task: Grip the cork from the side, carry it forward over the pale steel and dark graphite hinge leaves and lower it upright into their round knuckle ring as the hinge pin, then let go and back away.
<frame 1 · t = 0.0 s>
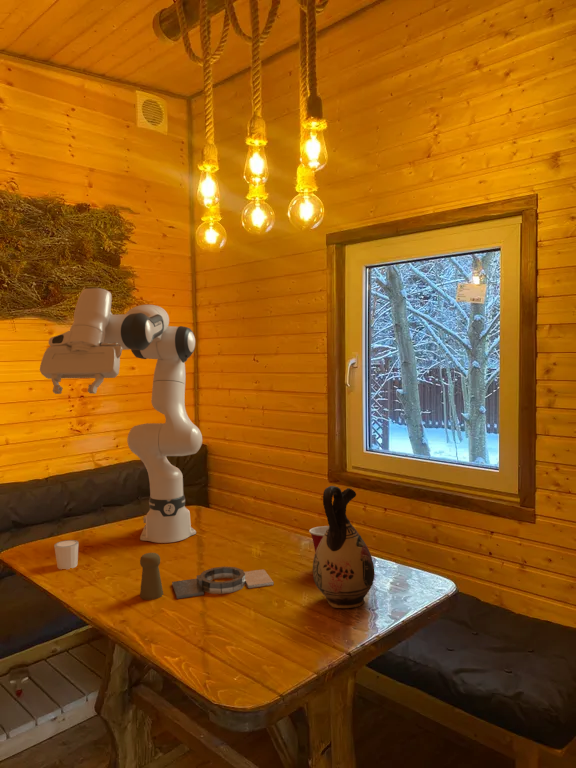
hand: (74, 392, 153), 54 cm above the table, tool tilted 30°, fingers open, 8 cm apart
ceramic jug: (342, 603, 155), on the table
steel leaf: (222, 584, 169), on the table
plastic cup: (328, 570, 178), on the table
cork: (151, 595, 163), on the table
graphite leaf: (209, 581, 167), in the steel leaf
shot glass: (67, 566, 186), on the table
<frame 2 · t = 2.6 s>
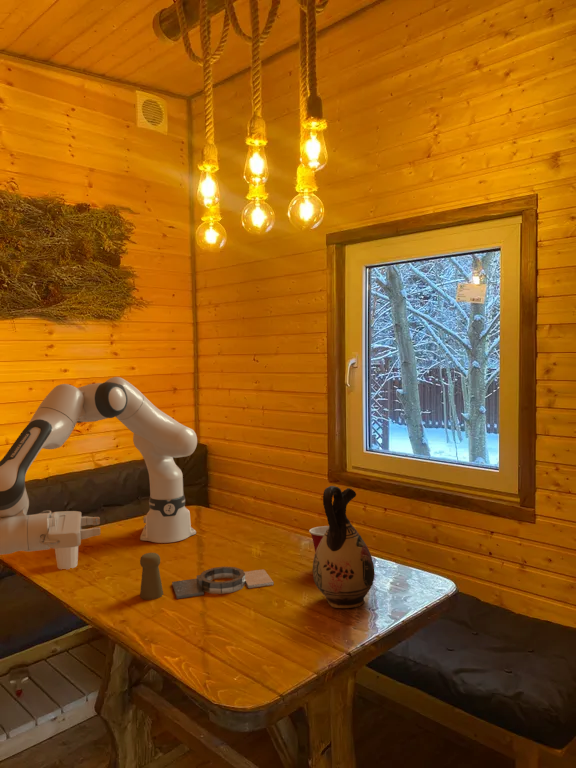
hand: (100, 525, 158), 20 cm above the table, tool horizontal, fingers open, 8 cm apart
nothing on the table moved.
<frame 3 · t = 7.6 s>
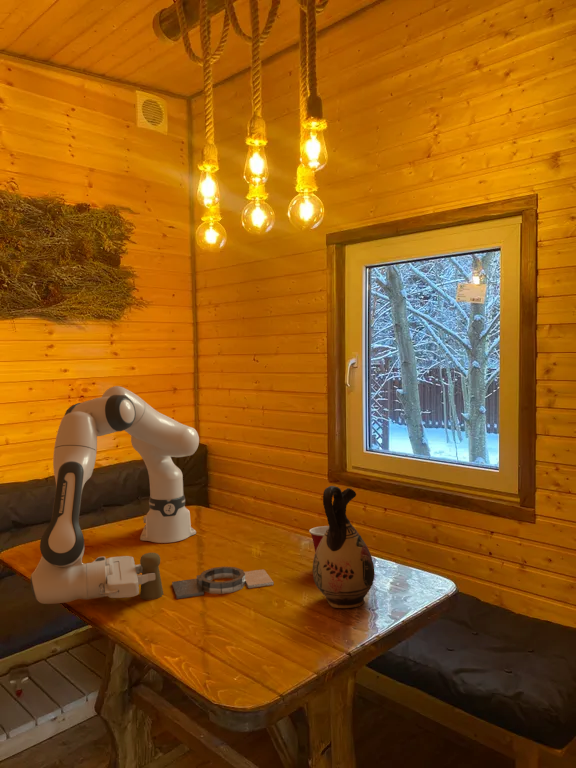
hand: (154, 572, 163), 6 cm above the table, tool horizontal, fingers closed on cork, 4 cm apart
cork: (151, 595, 163), on the table, touching gripper
everything else where it was.
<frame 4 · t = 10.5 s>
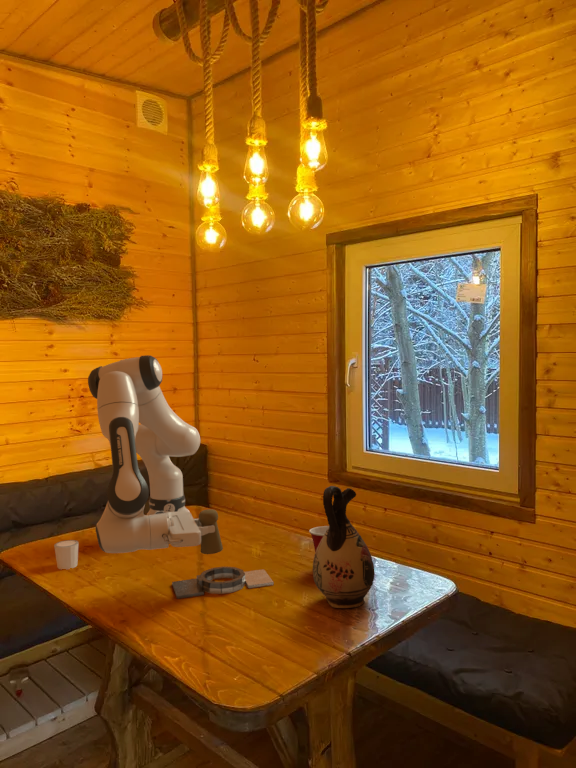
hand: (212, 525, 167), 17 cm above the table, tool horizontal, fingers closed on cork, 4 cm apart
cork: (211, 550, 167), point 10 cm above the table, touching gripper
everything else where it was.
when the fingers open (7 cm above the table, at t = 13.5 s): cork moves 2 cm, resting on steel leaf.
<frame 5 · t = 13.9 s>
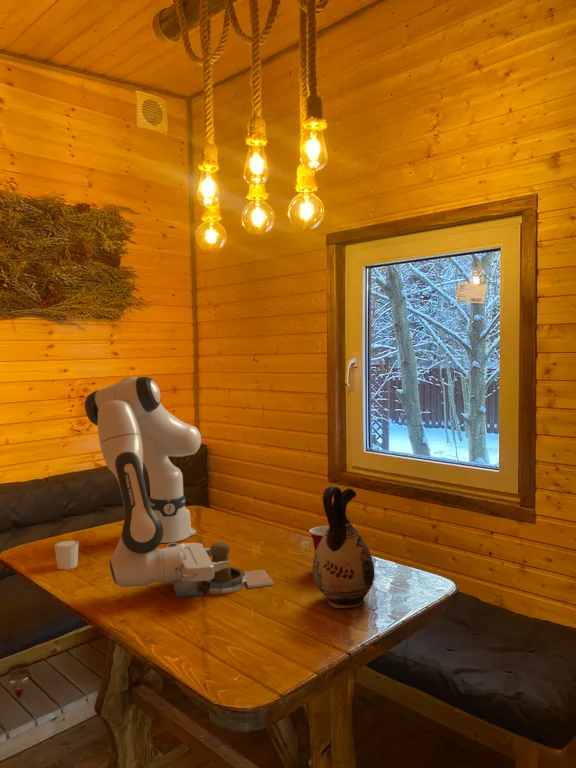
hand: (224, 557, 168), 7 cm above the table, tool horizontal, fingers open, 8 cm apart
cork: (220, 582, 170), resting on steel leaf, touching gripper
everything else where it was.
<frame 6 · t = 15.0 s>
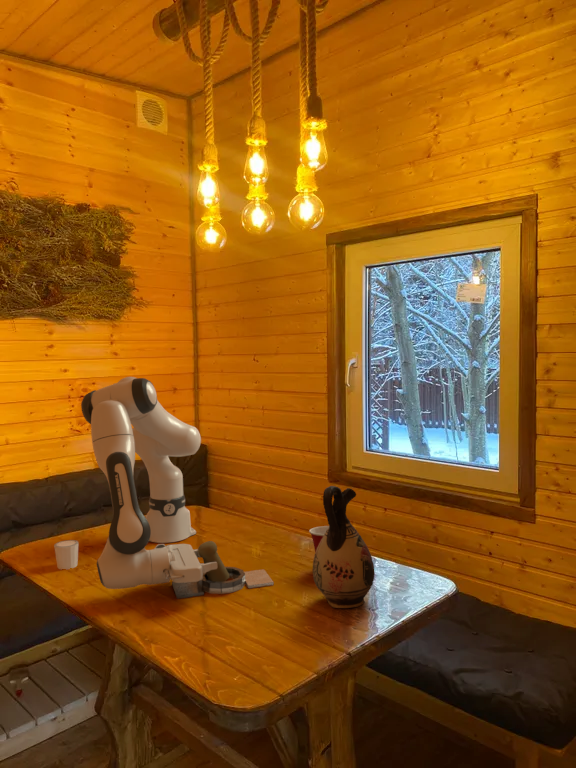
hand: (213, 558, 167), 8 cm above the table, tool horizontal, fingers open, 8 cm apart
cork: (219, 580, 170), point 1 cm above the table, touching gripper
everything else where it was.
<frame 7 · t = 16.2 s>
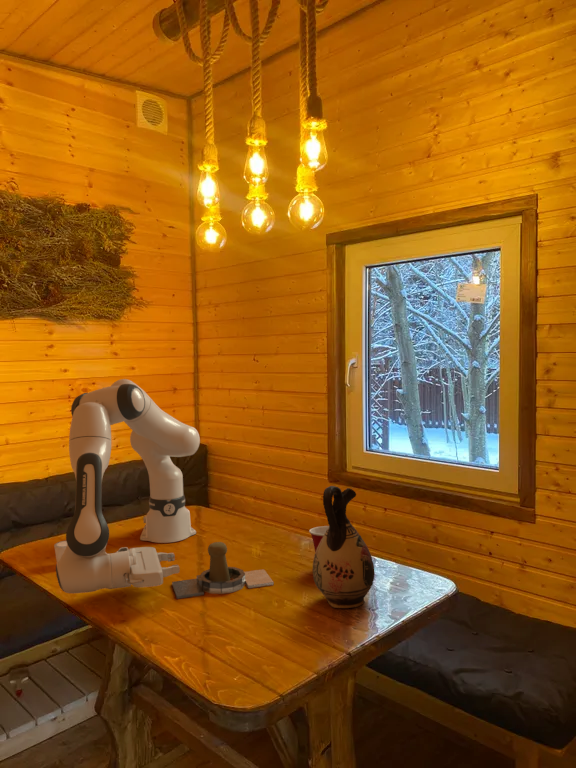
hand: (176, 562, 165), 8 cm above the table, tool horizontal, fingers open, 8 cm apart
cork: (219, 583, 170), resting in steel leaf
everything else where it was.
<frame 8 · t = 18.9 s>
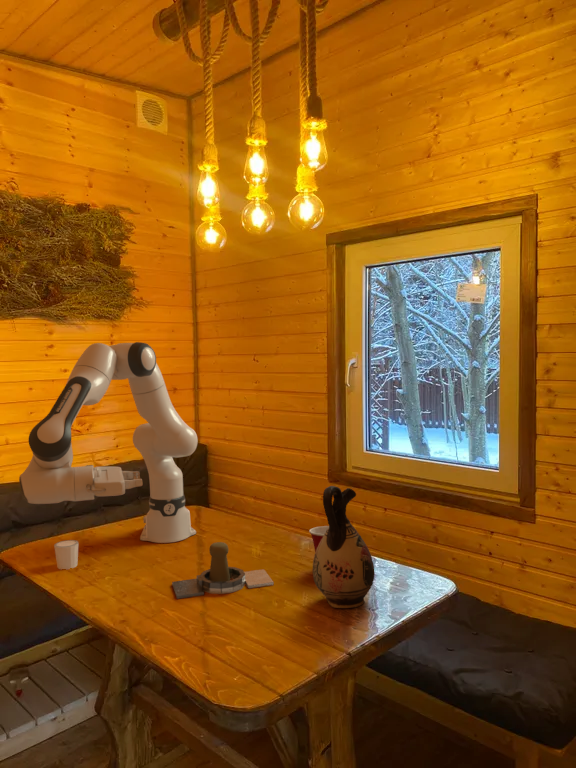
hand: (141, 478, 166), 30 cm above the table, tool horizontal, fingers open, 8 cm apart
nothing on the table moved.
at the end: cork 1.8 cm off-centre on the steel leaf, point 0.0 cm above the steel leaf's base; cork tilted 1°; the gripper is holding nothing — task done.
